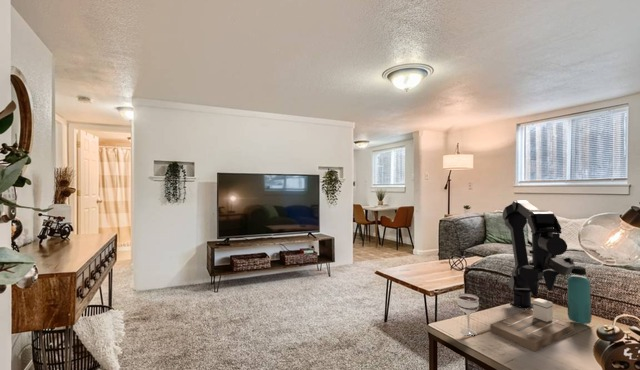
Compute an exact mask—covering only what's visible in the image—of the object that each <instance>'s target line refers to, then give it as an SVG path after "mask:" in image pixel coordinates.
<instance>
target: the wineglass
mask: <svg viewBox="0 0 640 370" xmlns="http://www.w3.org/2000/svg"><path fill="white" fill-rule="evenodd" d="M456 297H457V301H456V304H457V307H458V308H459V309H460V310H461V311H462V312H463V313H465V314H466V319H467V323H466V324H467V328H462V329H460V333H461V334H462V335H464V336H467V335H470V336H469V337H475V336H477V335H478V334H477V332H476V331H475V330H473V329H471V328H470V315H471V314H474V313H476V312H477V311H478V310H479V308H480V303H479V299H480V297H478V296H477V295H475V294H471V293H459V294H457V296H456ZM471 335H473V336H471ZM474 335H475V336H474Z"/></svg>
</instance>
